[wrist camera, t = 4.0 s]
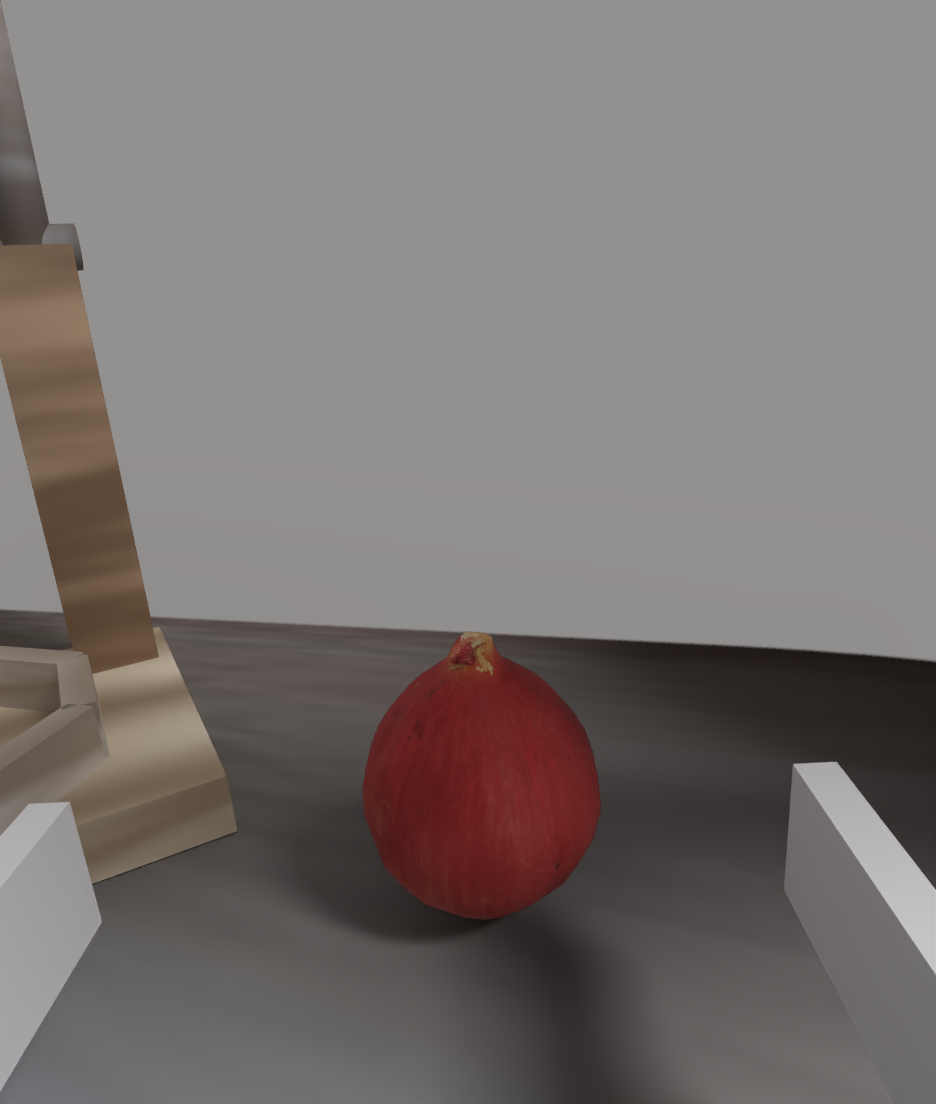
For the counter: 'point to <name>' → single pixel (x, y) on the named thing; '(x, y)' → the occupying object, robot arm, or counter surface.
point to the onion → (480, 785)
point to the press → (86, 572)
